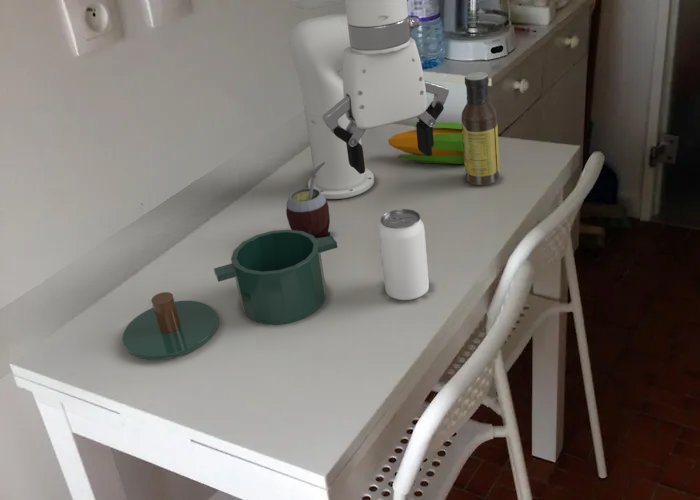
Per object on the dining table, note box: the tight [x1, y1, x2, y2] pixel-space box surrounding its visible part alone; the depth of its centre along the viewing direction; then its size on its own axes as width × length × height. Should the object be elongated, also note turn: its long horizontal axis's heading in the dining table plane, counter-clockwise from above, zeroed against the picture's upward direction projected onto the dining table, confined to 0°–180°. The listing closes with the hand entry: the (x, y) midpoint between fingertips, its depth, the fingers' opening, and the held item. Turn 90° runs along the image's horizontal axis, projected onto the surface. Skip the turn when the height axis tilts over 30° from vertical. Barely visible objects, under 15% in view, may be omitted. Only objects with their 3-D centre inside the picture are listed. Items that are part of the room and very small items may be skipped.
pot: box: [213, 229, 338, 325], centre depth 118 cm, size 13×18×8 cm
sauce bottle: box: [461, 71, 501, 186], centre depth 143 cm, size 6×6×20 cm
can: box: [378, 208, 430, 302], centre depth 116 cm, size 6×6×12 cm
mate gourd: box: [285, 162, 331, 239], centre depth 132 cm, size 8×8×15 cm
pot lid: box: [122, 291, 219, 361], centre depth 114 cm, size 14×14×6 cm
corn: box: [387, 121, 465, 165], centre depth 156 cm, size 7×8×20 cm
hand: (392, 161), depth 108 cm, fingers open, 9 cm apart
